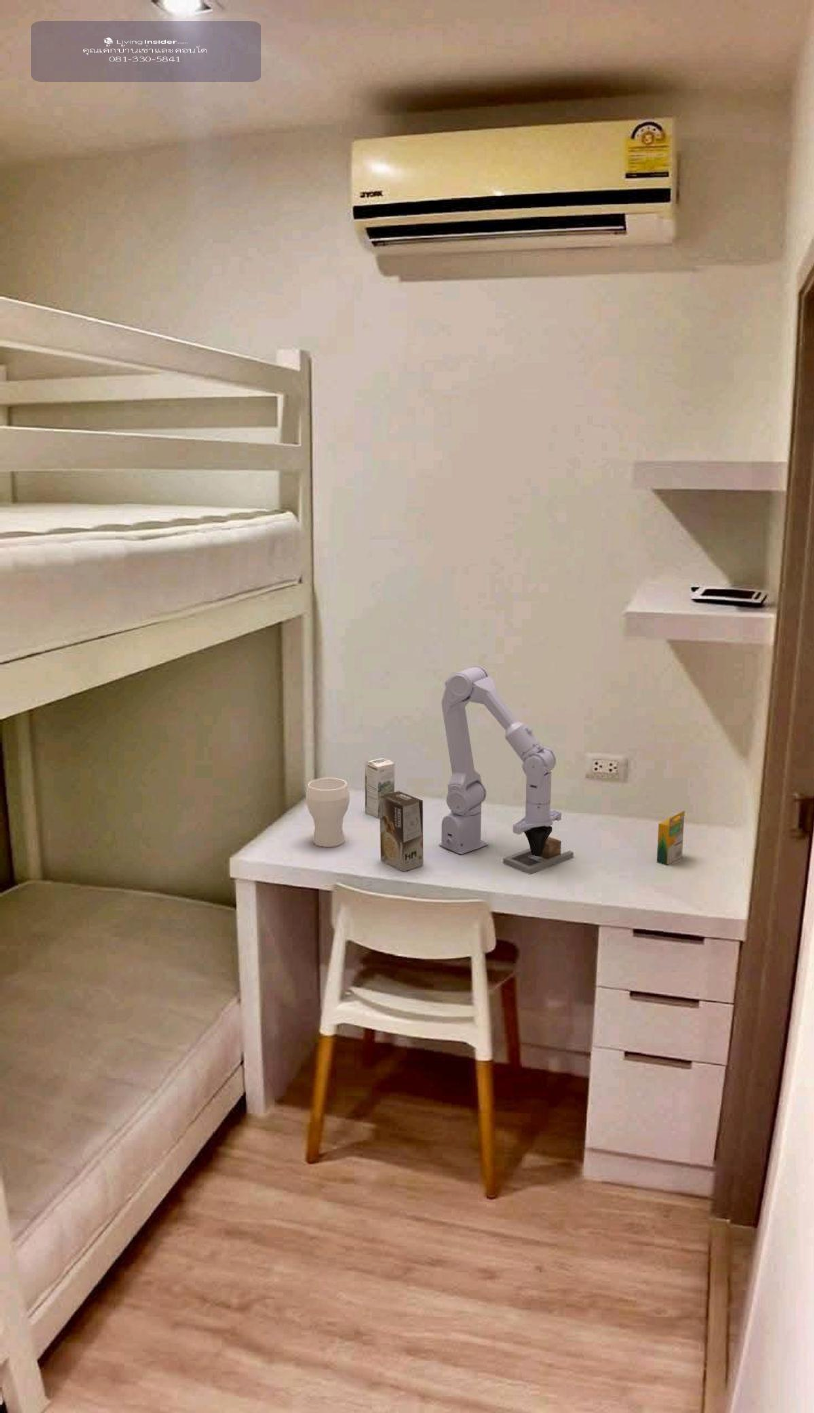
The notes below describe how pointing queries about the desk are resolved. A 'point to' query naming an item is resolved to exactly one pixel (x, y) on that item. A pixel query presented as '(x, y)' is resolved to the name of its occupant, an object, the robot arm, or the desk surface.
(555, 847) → the walnut block
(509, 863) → the guide channel
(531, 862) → the pad
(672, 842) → the crayon box
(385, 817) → the coffee box
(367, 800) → the syrup box
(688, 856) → the desk surface
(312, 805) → the cup
